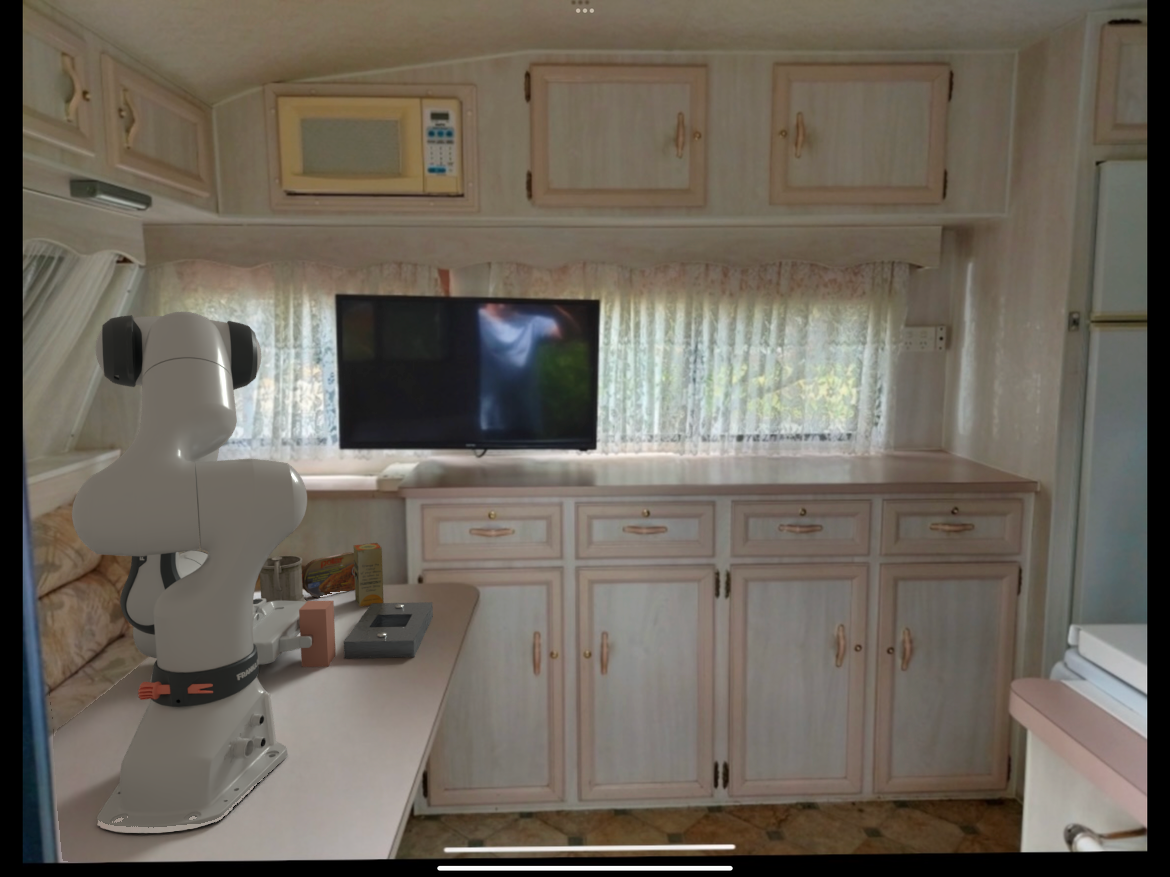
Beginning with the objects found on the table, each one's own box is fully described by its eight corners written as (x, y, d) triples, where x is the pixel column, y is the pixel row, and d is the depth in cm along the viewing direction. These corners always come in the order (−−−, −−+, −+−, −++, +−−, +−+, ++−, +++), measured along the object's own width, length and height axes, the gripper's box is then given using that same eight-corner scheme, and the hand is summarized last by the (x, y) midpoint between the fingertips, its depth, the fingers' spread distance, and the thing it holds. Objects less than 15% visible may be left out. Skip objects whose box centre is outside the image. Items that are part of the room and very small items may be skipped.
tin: (305, 601, 159) (303, 563, 158) (299, 598, 161) (298, 560, 160) (371, 586, 169) (369, 550, 168) (364, 583, 171) (363, 547, 170)
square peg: (328, 666, 125) (325, 609, 124) (301, 667, 125) (299, 609, 124) (335, 656, 130) (333, 600, 129) (310, 656, 130) (307, 601, 128)
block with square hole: (414, 657, 129) (413, 638, 129) (344, 658, 129) (343, 640, 128) (432, 616, 149) (432, 600, 149) (372, 617, 149) (371, 601, 148)
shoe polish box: (378, 596, 162) (377, 542, 160) (383, 603, 157) (381, 548, 156) (355, 600, 159) (353, 545, 158) (359, 606, 155) (357, 550, 154)
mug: (259, 600, 159) (257, 546, 158) (308, 596, 162) (306, 542, 161) (251, 624, 145) (248, 564, 144) (304, 618, 148) (302, 560, 147)
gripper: (209, 637, 116) (299, 635, 116) (260, 595, 136) (337, 593, 137) (211, 675, 116) (301, 673, 117) (262, 628, 137) (338, 626, 137)
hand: (321, 630), depth 127 cm, fingers open, 8 cm apart
